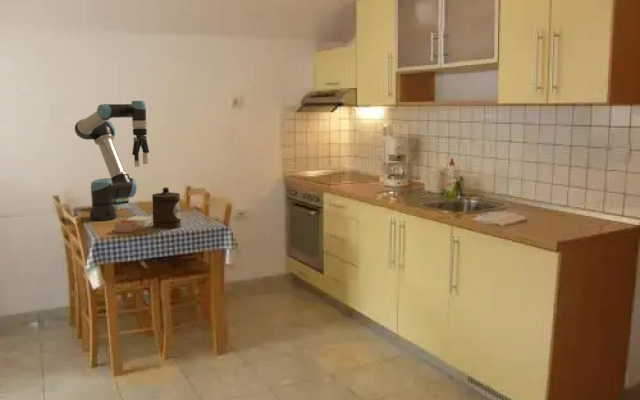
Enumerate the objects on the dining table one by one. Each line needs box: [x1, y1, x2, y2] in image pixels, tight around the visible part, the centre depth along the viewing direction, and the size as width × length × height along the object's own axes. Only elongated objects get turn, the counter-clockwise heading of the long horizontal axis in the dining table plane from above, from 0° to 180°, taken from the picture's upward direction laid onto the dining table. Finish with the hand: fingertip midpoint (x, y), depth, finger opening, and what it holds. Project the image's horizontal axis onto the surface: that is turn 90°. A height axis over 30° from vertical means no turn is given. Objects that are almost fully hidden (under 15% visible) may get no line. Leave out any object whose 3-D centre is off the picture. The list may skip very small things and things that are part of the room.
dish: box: [114, 219, 139, 234], centre depth 319 cm, size 9×9×5 cm
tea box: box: [113, 198, 130, 211], centre depth 388 cm, size 15×10×15 cm
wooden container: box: [152, 186, 182, 230], centre depth 330 cm, size 15×15×22 cm
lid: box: [126, 215, 153, 227], centre depth 335 cm, size 10×10×4 cm
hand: (141, 165), depth 343 cm, fingers open, 13 cm apart
